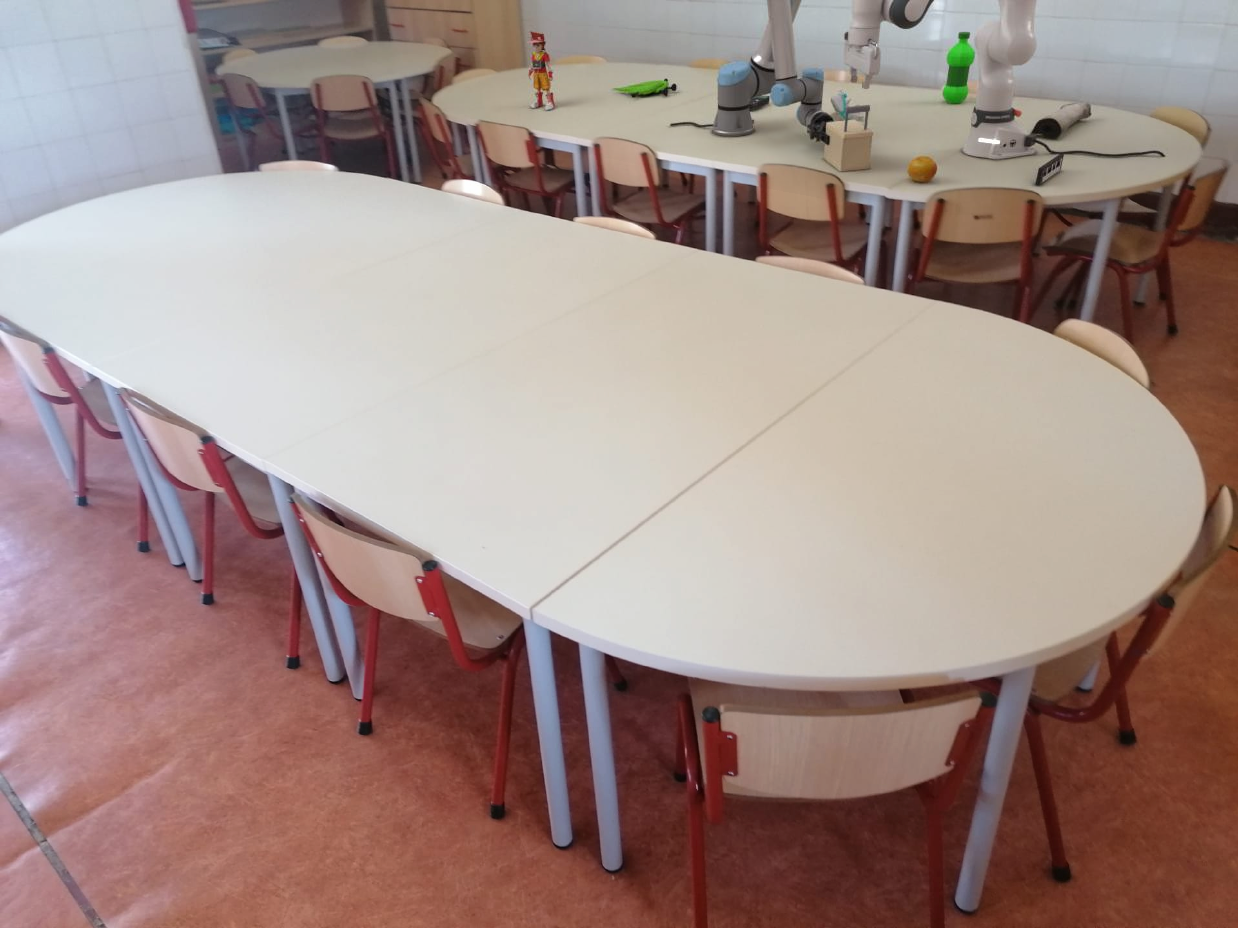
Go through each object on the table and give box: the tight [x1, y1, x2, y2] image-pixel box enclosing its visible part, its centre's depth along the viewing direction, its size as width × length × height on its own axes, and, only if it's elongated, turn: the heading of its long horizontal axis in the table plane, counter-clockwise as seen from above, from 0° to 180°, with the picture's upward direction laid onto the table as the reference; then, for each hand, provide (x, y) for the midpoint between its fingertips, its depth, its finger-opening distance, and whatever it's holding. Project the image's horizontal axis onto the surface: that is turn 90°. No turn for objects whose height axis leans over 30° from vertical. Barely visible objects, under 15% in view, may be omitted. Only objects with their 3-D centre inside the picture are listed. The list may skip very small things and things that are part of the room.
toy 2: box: [612, 78, 677, 99], centre depth 396 cm, size 28×5×30 cm
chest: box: [823, 127, 873, 172], centre depth 294 cm, size 15×10×10 cm, turn 10°
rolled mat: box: [1029, 101, 1092, 140], centre depth 316 cm, size 30×9×10 cm
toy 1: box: [527, 31, 556, 111], centre depth 374 cm, size 12×9×30 cm
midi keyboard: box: [1035, 154, 1065, 186], centre depth 273 cm, size 18×1×5 cm, turn 138°
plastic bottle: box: [942, 31, 976, 104], centre depth 348 cm, size 10×10×25 cm
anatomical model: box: [830, 89, 865, 121], centre depth 343 cm, size 15×10×10 cm
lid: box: [826, 104, 874, 139], centre depth 289 cm, size 16×10×9 cm, turn 10°
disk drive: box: [749, 95, 771, 111], centre depth 365 cm, size 10×3×15 cm
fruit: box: [907, 155, 938, 183], centre depth 277 cm, size 8×8×8 cm
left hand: (843, 139), depth 296 cm, fingers closed on chest, 10 cm apart
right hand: (859, 85), depth 279 cm, fingers open, 8 cm apart
